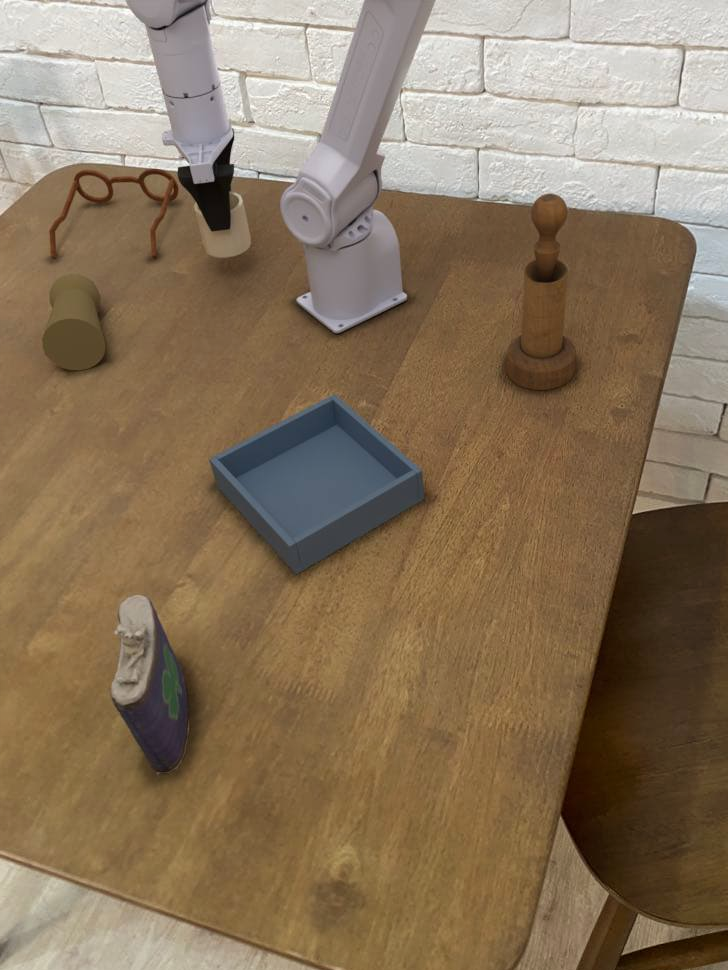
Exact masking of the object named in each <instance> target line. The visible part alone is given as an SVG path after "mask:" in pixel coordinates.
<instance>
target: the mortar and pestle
mask: <svg viewBox="0 0 728 970" xmlns="http://www.w3.org/2000/svg"><path fill="white" fill-rule="evenodd" d="M530 217H531V221H532V224H533V225H534V226H535V229H536V230H537V232H538V240H537V241H536V242H535V243H534V245H533V251H534V253H533V254H534V257H535V259H534V260H531V261H529V262H528V263H527V264H526V265H525V266H524V269H523V293H522V294H523V295H522V296H523V298H522V321H521V334H520V335H518V336H516V337H515V338H514V339H513V340H512V341H510V343H509V344H508V347H507V352H506V366H505V368H506V369H505V370H506V374H507V376H508V378H509V379H510V380H511V381H512V382H513V383H514V384H515V385H517V386H519V387H521V388H523V389H527V390H533V391H548V390H549V391H550V390H553V389H557V388H560V387H562V386H564V385H565V384H567V383H568V382H569V381H570V380H571V379H572V378H573V376H574V374H575V371H576V361H577V358H576V357H577V349H576V346H575V344H574V342H573V341H572V340H571V339H569V338H568V337H567V336H566V335H564V329H565V328H564V326H565V314H566V301H567V300H566V299H567V289H568V288H567V287H568V276H569V269H568V266H567V264H566V263H565V262H563V261H562V260H559V259H558V258H559V255H560V252H561V247H562V245H561V244H560V242H558V241H557V235H558V232H559V231H560V230H561V229H562V227H563V226H564V224H565V222H566V220H567V217H568V206H567V204H566V202H565V200H564V198H562V196H561V195H558V194H555V193H545V194H542V195H539V197H538V198H536V200H535V201H534V202H533V204H532V206H531V211H530Z"/></svg>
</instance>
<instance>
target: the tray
mask: <svg viewBox="0 0 728 970" xmlns="http://www.w3.org/2000/svg"><path fill="white" fill-rule="evenodd" d="M208 461H209V465H210V468H211V472H212V474H213V477H214V481H215V484H216V487H217V488H218V490H219V491H220V492H221V493H222V494H223V495H224V497H226V498H227V500H228V501H229V502H230V503H231V504H232V505H233V506H234V507H235V509H236V510H237V511H238V512H239V513H240V514H241V515H242V516H243V518H245V519H246V521H247V522H248V523H249V524H250V525H251V526H252V527H253V529H254V530H255V531H256V532H257V533H258V534H259V536H261V537H262V539H263V540H264V541H265V542H266V543H267V544H268V546H270V547H271V549H272V550H273V551H274V552H275V553H276V554H277V555H278V556H279V558H280V559H281V560H282V561H283V562H284V563H285V564H286V565H287V566H288V567H289V568H290V570H291V571H292V572H293V573H294V574H295V575H299V574H300V573H302V572H303V571H306V570H307V569H308V568H310V567H312V566H314V565H315V564H318V563H319V562H320V561H322V560H323V559H325V558H327V557H329V556H330V555H332V554H334V553H335V552H337V551H339V550H341V549H342V548H344V547H345V546H347V545H349V544H351V543H353V542H354V541H356V540H358V539H360V538H361V537H363V536H365V535H366V534H368V533H369V532H371V531H373V530H374V529H376V528H378V527H379V526H382V525H383V524H384V523H386V522H388V521H389V520H392V519H393V518H394V517H396V516H398V515H400V514H401V513H403V512H405V511H407V510H408V509H410V508H412V507H413V506H415V505H417V504H418V503H420V502H422V501H423V500H425V489H424V477H423V469H421V468H420V466H418V465H417V464H416V463H415V462H414V461H412V460H411V459H410V458H409V457H408V456H406V455H405V453H404V452H402V451H401V450H400V449H398V448H397V447H396V446H395V445H394V444H393V443H392V442H391V441H389V440H388V439H387V438H386V437H385V436H384V435H383V434H381V433H380V431H378V430H377V429H375V427H373V426H372V425H371V424H369V422H367V421H366V420H365V419H364V418H363V417H362V416H360V414H358V413H357V412H356V411H355V410H354V409H353V408H352V407H350V405H348V404H347V403H346V402H345V401H344V400H342V398H340V397H339V396H338V395H336V394H335V393H333V394H332V395H330V396H328V397H326V398H324V399H322V400H320V401H318V402H316V403H314V404H312V405H311V406H308V407H307V408H305V409H302V410H300V411H298V412H297V413H295V414H293V415H291V416H289V417H287V418H286V419H283V420H281V421H279V422H278V423H276V424H274V425H272V426H270V427H268V428H266V429H264V430H262V431H260V432H258V433H256V434H254V435H252V436H251V437H248V438H247V439H245V440H242V441H241V442H239V443H237V444H235V445H233V446H231V447H229V448H226V449H225V450H223V451H221V452H220V453H218V454H216V455H214V456H211V457H209V458H208Z"/></svg>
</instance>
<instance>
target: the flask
mask: <svg viewBox="0 0 728 970" xmlns="http://www.w3.org/2000/svg"><path fill="white" fill-rule="evenodd" d="M117 618H118V625H117V627H116V629H115V630H114V631H113V634H114V635H115V636H117V635H119V634H120V637H119V642H120V644H119V653H118V663H117V667H116V672H115V674H114V678H113V680H112V681H111V685H110V691H109V694H110V698H111V700H112V703H113V705H114V707H115V708H116V711H117V712H118V713H119V715H120V717H121V718H122V720H123V721H124V723H125V725H126V727H127V728H128V729H129V730H130V733H131V734H132V737H133V738H134V740H135V742H136V744H137V745H138V746H139V747H140V749H141V751H142V753H143V754H144V757H145V758H146V759H147V761H148V764H149V767H150V768H151V769H152V770H153V771H154V772H156V775H157V776H158V775H160V774H169V773H172V772H173V771H176V770H177V769H178V768H179V766H180V765H181V764H182V762H183V758H184V756H185V754H186V751H187V743H188V739H189V731H190V725H191V724H190V717H191V716H190V715H191V714H190V711H189V700H188V697H189V696H188V688H187V684H186V678H185V675H184V671H183V668H182V666H181V665H180V663H179V661H178V659H177V656H176V654H175V651H174V649H173V648H172V646H171V644H170V641H169V638H168V636H167V635H166V632H165V629H164V627H163V624H162V623H161V621H160V618H159V616H158V613H157V611H156V609H155V607H154V603H153V601H152V600H151V599H150V598H149V597H148V596H146V595H144V594H143V595H142V594H133V595H131V596H128V597H126V598H125V599H124V600H122V601H120V604H119V606H118V611H117Z"/></svg>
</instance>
